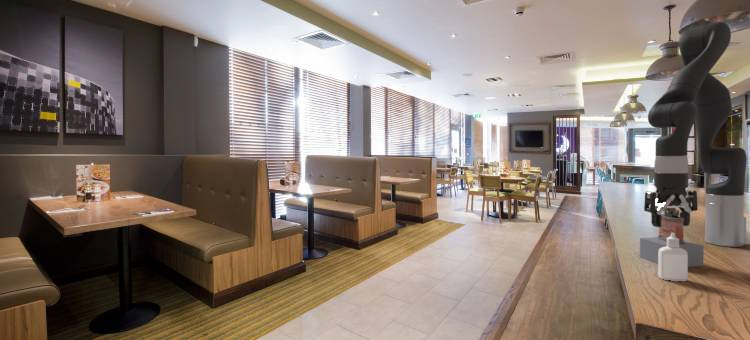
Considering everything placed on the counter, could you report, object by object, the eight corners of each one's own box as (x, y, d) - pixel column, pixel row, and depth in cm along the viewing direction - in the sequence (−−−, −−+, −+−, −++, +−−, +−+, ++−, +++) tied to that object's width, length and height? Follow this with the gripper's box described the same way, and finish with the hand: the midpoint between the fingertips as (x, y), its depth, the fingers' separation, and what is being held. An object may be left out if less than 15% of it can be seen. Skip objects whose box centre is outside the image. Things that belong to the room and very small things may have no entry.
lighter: (688, 244, 96) (687, 209, 96) (674, 244, 96) (674, 210, 96) (667, 237, 104) (666, 205, 103) (655, 238, 104) (654, 205, 104)
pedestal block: (670, 255, 106) (670, 236, 105) (703, 266, 96) (703, 245, 95) (640, 257, 105) (640, 238, 105) (669, 267, 95) (669, 246, 95)
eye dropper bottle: (686, 284, 83) (687, 236, 83) (657, 279, 87) (657, 233, 87) (687, 279, 86) (688, 233, 86) (659, 274, 90) (659, 230, 90)
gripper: (681, 170, 103) (681, 222, 104) (637, 171, 103) (636, 224, 103) (707, 171, 96) (706, 227, 96) (659, 172, 95) (658, 229, 96)
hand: (670, 226), depth 100 cm, fingers open, 8 cm apart
